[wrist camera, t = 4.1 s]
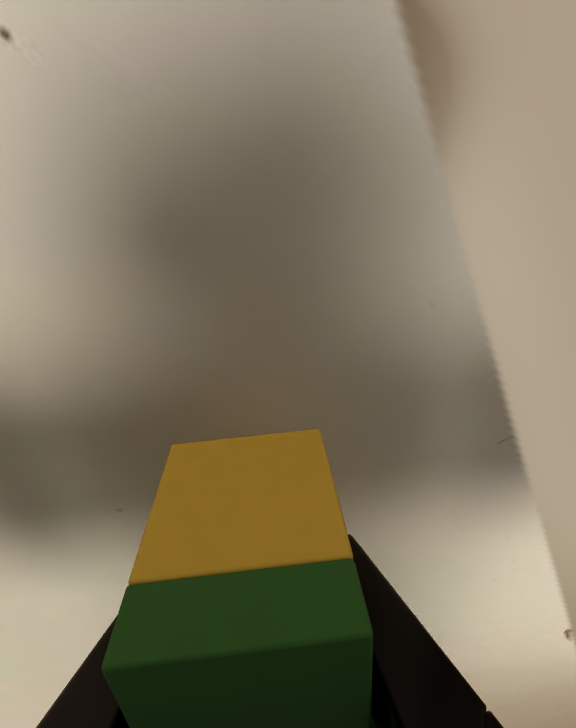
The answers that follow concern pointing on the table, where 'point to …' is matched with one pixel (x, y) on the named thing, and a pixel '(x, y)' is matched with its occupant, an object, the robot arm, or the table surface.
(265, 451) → the sponge
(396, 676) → the robot arm
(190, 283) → the table surface
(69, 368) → the table surface
